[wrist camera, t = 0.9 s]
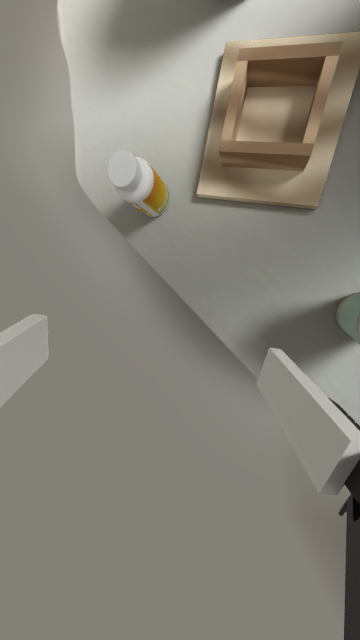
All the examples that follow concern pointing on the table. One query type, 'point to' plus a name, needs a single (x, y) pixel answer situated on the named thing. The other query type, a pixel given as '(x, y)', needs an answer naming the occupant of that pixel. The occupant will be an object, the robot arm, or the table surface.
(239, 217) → the table surface
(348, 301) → the coffee cup
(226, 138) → the birch rack
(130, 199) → the supplement bottle
